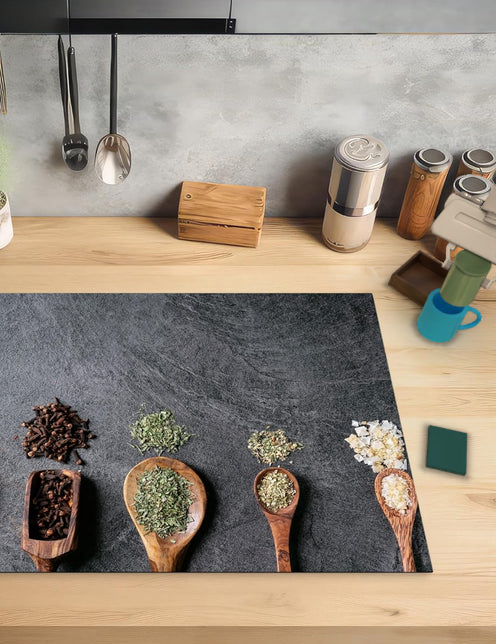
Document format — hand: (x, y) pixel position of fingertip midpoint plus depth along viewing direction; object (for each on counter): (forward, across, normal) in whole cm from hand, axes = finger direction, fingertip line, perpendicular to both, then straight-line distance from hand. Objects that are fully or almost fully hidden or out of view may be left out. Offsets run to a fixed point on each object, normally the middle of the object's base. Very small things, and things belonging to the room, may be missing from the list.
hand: (464, 278), depth 137 cm
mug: (+10, 0, +20) cm, 22 cm away
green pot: (+3, 0, +4) cm, 5 cm away
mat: (+30, +14, 0) cm, 33 cm away
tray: (+5, -10, +25) cm, 27 cm away
